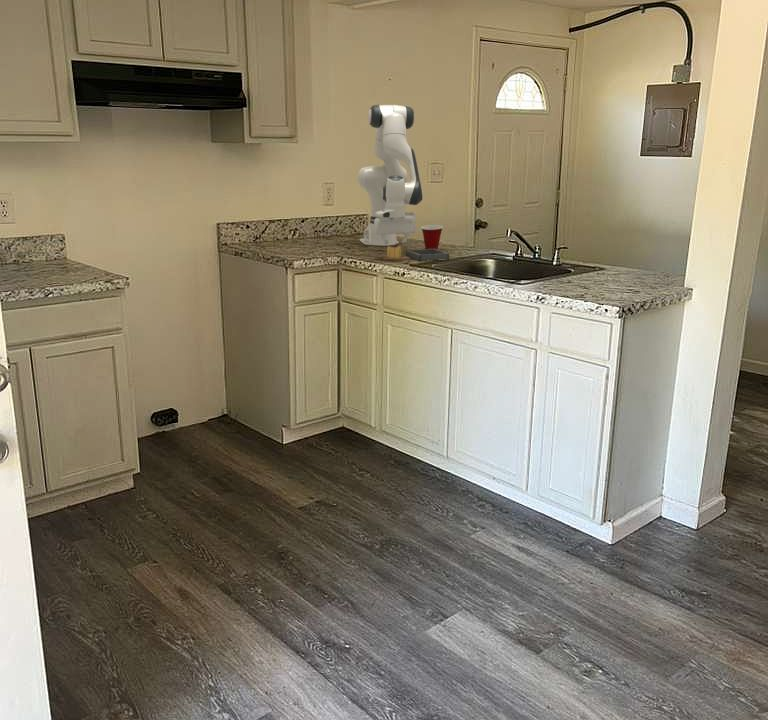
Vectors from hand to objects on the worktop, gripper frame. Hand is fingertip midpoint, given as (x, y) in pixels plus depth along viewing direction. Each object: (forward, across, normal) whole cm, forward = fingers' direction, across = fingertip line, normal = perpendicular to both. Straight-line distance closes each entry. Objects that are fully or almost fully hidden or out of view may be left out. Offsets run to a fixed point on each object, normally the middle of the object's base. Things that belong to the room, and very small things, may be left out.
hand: (394, 243), depth 347 cm
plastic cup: (+7, -27, -16) cm, 32 cm away
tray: (+7, -15, +3) cm, 17 cm away
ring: (+6, 0, -1) cm, 6 cm away
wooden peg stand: (+7, 0, -1) cm, 7 cm away
